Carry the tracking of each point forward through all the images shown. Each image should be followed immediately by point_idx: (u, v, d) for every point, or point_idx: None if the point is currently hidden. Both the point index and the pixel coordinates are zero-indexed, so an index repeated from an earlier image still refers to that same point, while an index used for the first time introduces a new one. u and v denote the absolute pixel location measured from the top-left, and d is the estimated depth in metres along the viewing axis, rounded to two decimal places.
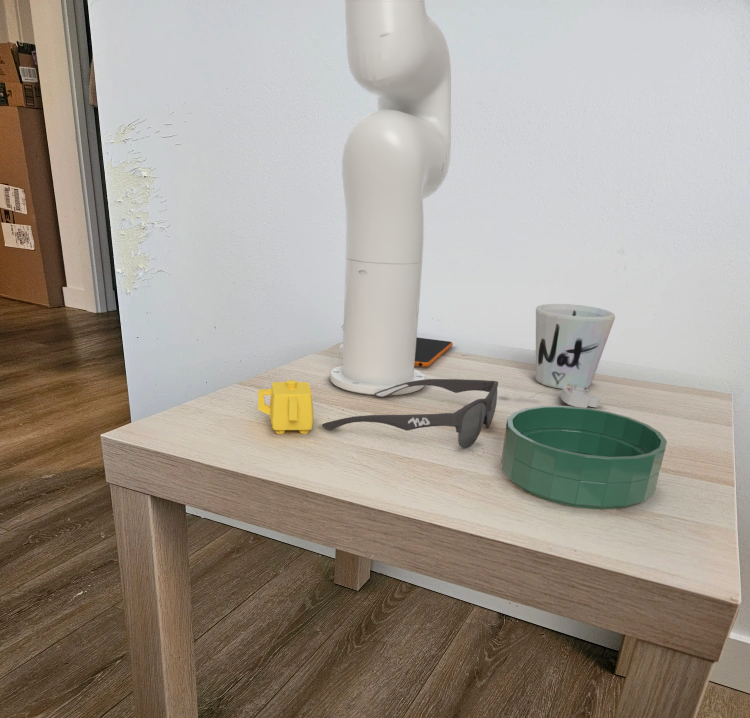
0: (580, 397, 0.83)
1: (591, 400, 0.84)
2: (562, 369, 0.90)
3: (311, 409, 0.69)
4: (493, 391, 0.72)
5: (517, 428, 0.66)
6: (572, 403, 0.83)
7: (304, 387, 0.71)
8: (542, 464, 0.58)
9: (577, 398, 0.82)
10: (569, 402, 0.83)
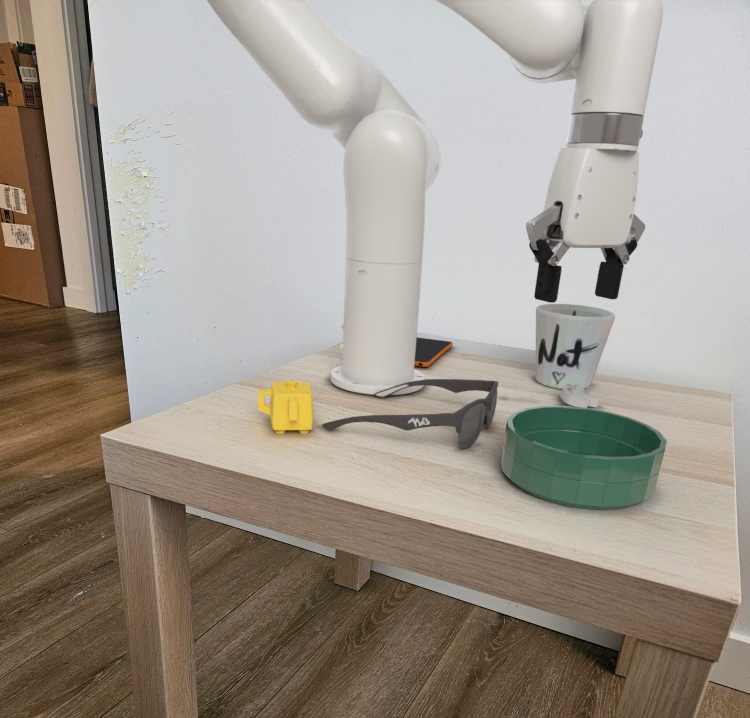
0: (580, 397, 0.83)
1: (592, 400, 0.84)
2: (562, 369, 0.90)
3: (311, 409, 0.69)
4: (493, 391, 0.72)
5: (517, 428, 0.66)
6: (572, 403, 0.83)
7: (304, 387, 0.71)
8: (542, 464, 0.58)
9: (577, 398, 0.82)
10: (569, 402, 0.83)
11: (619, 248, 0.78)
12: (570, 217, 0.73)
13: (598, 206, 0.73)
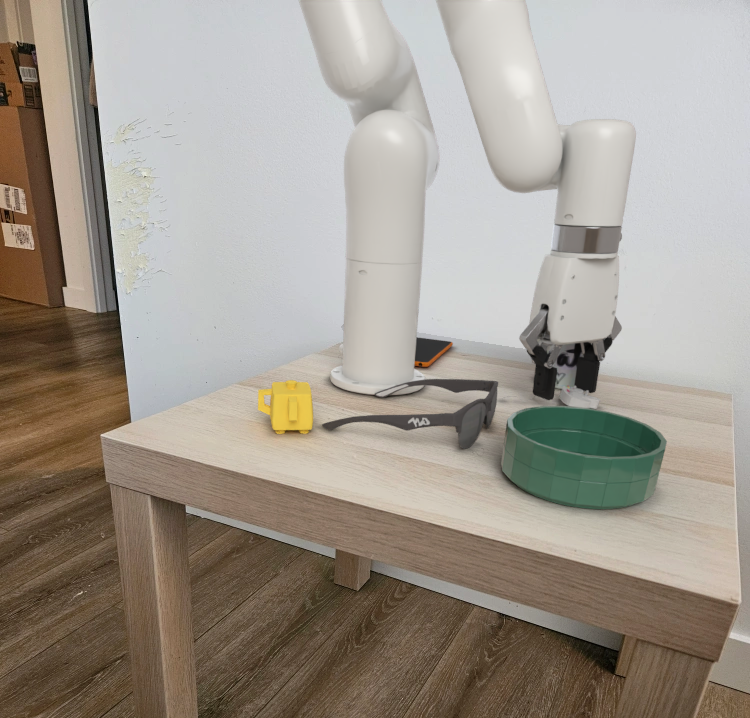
0: (581, 399, 0.82)
1: (591, 401, 0.84)
2: (562, 369, 0.90)
3: (311, 409, 0.69)
4: (493, 391, 0.72)
5: (517, 428, 0.66)
6: (573, 404, 0.82)
7: (304, 387, 0.71)
8: (542, 464, 0.58)
9: (578, 400, 0.82)
10: (570, 404, 0.82)
11: (598, 344, 0.83)
12: (556, 319, 0.78)
13: (582, 307, 0.78)
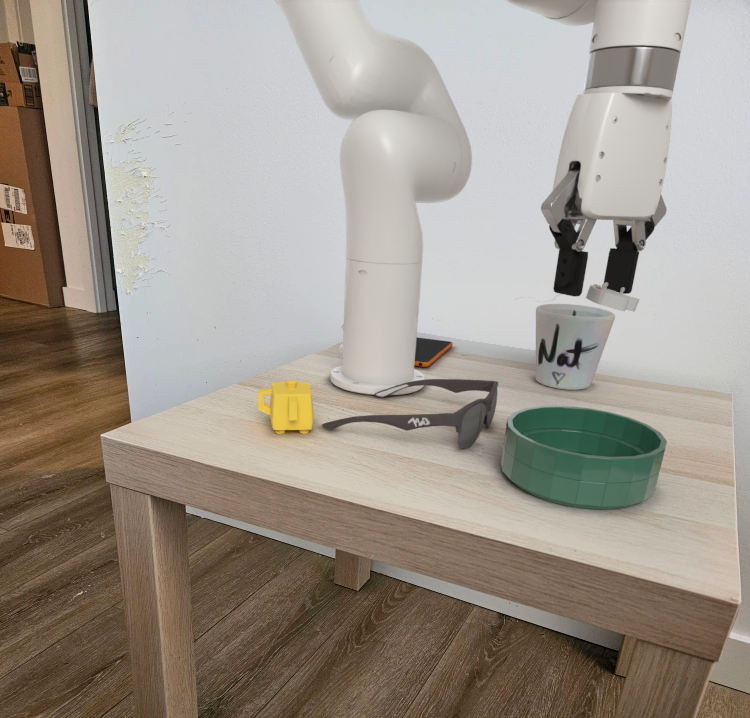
0: (617, 295, 0.63)
1: (629, 301, 0.65)
2: (562, 369, 0.90)
3: (311, 409, 0.69)
4: (493, 391, 0.72)
5: (517, 428, 0.66)
6: (606, 303, 0.63)
7: (304, 387, 0.71)
8: (542, 464, 0.58)
9: (613, 296, 0.63)
10: (602, 302, 0.63)
11: (638, 227, 0.64)
12: (590, 180, 0.59)
13: (624, 167, 0.59)
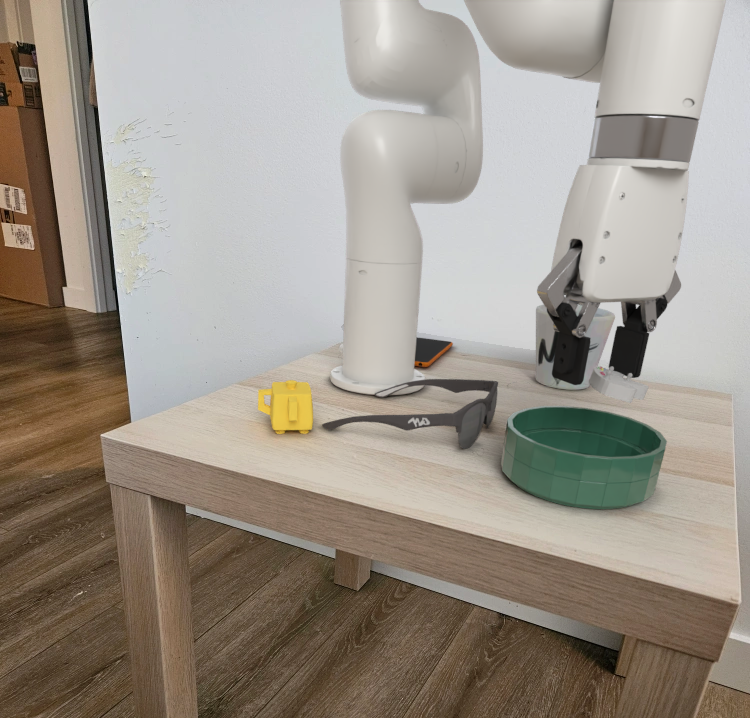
0: (623, 385, 0.56)
1: (637, 389, 0.58)
2: None
3: (311, 409, 0.69)
4: (493, 391, 0.72)
5: (517, 428, 0.66)
6: (611, 393, 0.56)
7: (304, 387, 0.71)
8: (542, 464, 0.58)
9: (619, 386, 0.56)
10: (606, 392, 0.56)
11: (648, 307, 0.57)
12: (593, 262, 0.52)
13: (632, 246, 0.52)
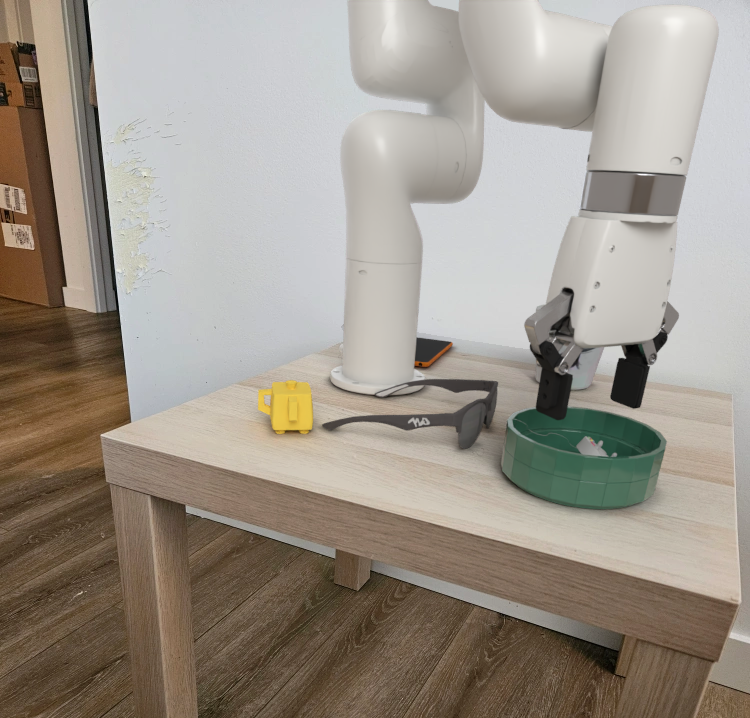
0: None
1: None
2: None
3: (311, 409, 0.69)
4: (493, 391, 0.72)
5: (517, 428, 0.66)
6: None
7: (304, 387, 0.71)
8: (542, 464, 0.58)
9: None
10: None
11: (645, 345, 0.59)
12: (584, 311, 0.53)
13: (622, 295, 0.54)
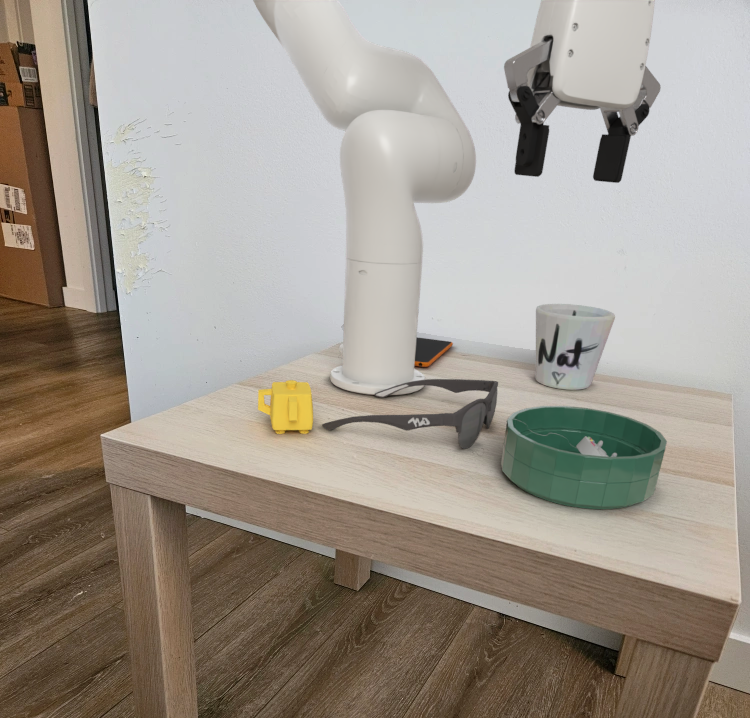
0: None
1: None
2: (562, 369, 0.90)
3: (311, 409, 0.69)
4: (493, 391, 0.72)
5: (517, 428, 0.66)
6: None
7: (304, 387, 0.71)
8: (542, 464, 0.58)
9: None
10: None
11: (626, 111, 0.61)
12: (562, 55, 0.55)
13: (600, 43, 0.56)
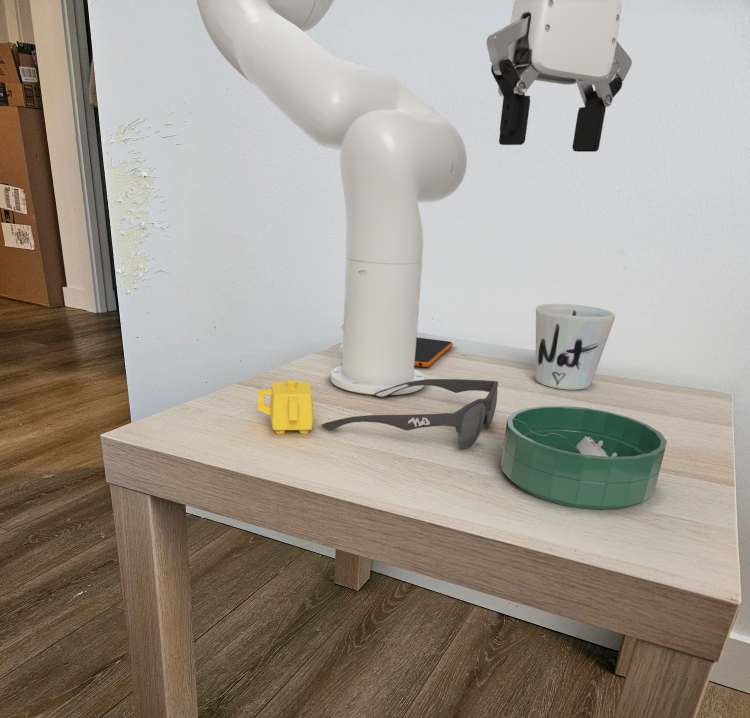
0: None
1: None
2: (562, 369, 0.90)
3: (311, 409, 0.69)
4: (493, 391, 0.72)
5: (517, 428, 0.66)
6: None
7: (304, 387, 0.71)
8: (542, 464, 0.58)
9: None
10: None
11: (600, 84, 0.66)
12: (539, 30, 0.60)
13: (574, 18, 0.60)
